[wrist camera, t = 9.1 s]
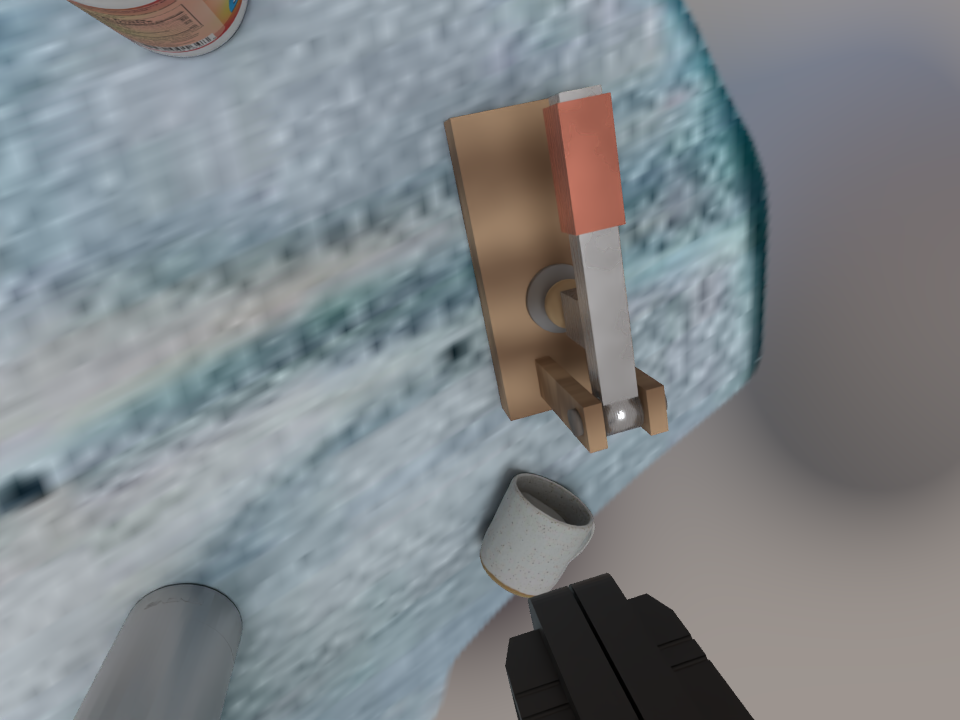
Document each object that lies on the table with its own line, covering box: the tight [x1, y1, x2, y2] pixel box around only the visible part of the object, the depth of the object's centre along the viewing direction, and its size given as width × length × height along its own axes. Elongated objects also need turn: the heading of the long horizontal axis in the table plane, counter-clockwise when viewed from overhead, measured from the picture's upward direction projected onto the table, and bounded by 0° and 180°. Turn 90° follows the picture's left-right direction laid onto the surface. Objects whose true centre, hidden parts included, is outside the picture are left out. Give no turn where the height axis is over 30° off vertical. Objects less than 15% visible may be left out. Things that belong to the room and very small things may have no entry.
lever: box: [543, 85, 644, 436], centre depth 37 cm, size 21×3×6 cm, turn 12°
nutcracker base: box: [444, 88, 668, 453], centre depth 40 cm, size 23×11×14 cm, turn 12°
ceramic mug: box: [480, 473, 595, 598], centre depth 50 cm, size 11×8×8 cm
